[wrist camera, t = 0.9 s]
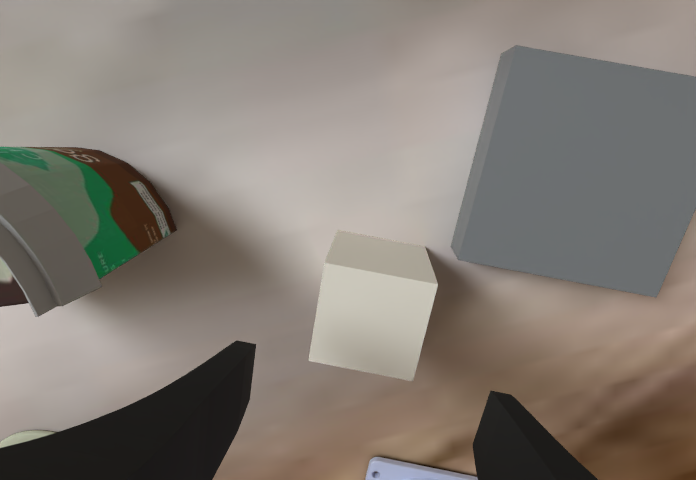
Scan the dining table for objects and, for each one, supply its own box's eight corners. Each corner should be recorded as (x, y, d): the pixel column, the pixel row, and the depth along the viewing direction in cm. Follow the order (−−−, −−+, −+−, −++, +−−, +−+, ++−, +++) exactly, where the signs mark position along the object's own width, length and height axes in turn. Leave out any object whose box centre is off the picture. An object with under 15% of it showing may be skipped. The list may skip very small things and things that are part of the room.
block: (405, 324, 22) (412, 381, 17) (324, 308, 22) (308, 360, 17) (424, 246, 20) (438, 284, 16) (337, 229, 21) (324, 262, 16)
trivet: (630, 280, 20) (656, 297, 18) (450, 246, 20) (458, 259, 18) (709, 89, 17) (749, 86, 15) (501, 53, 18) (516, 45, 16)
